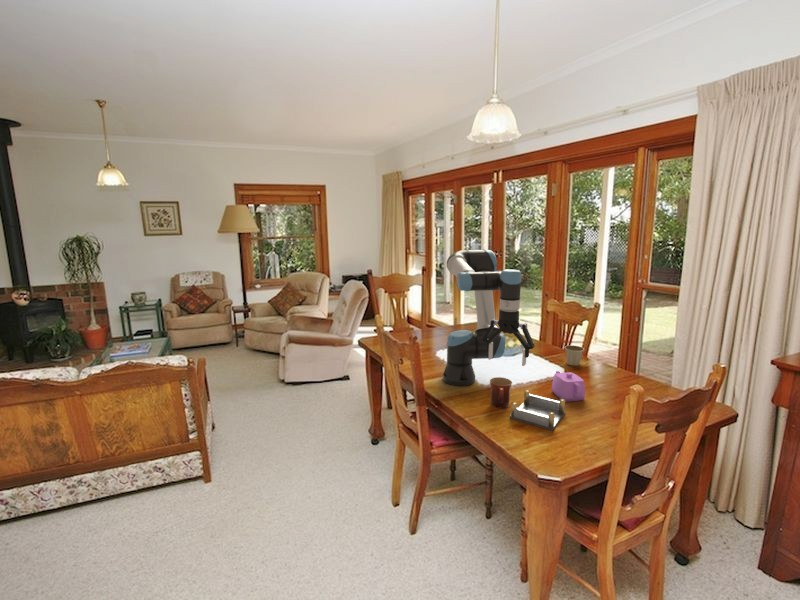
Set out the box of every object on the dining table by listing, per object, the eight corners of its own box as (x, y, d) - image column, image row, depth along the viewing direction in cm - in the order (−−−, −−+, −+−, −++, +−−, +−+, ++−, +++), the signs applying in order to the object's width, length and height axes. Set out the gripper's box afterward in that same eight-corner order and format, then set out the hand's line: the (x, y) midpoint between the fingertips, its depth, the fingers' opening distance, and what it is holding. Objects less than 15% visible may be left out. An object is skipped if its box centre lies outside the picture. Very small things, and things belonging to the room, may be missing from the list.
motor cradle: (509, 418, 158) (510, 403, 156) (524, 403, 170) (525, 389, 169) (552, 430, 148) (553, 415, 147) (565, 413, 161) (566, 399, 159)
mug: (488, 399, 174) (489, 376, 172) (510, 401, 172) (511, 378, 170) (489, 412, 162) (490, 388, 160) (512, 414, 160) (513, 389, 158)
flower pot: (565, 359, 220) (567, 344, 219) (584, 363, 215) (586, 347, 213) (561, 364, 213) (562, 348, 211) (580, 368, 208) (581, 352, 206)
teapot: (545, 387, 185) (546, 366, 183) (567, 386, 187) (568, 364, 185) (566, 405, 168) (568, 382, 166) (590, 403, 169) (593, 380, 167)
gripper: (475, 307, 163) (473, 358, 167) (539, 315, 150) (536, 370, 154) (482, 304, 169) (480, 353, 174) (544, 311, 156) (541, 364, 160)
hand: (506, 361), depth 164 cm, fingers open, 13 cm apart
